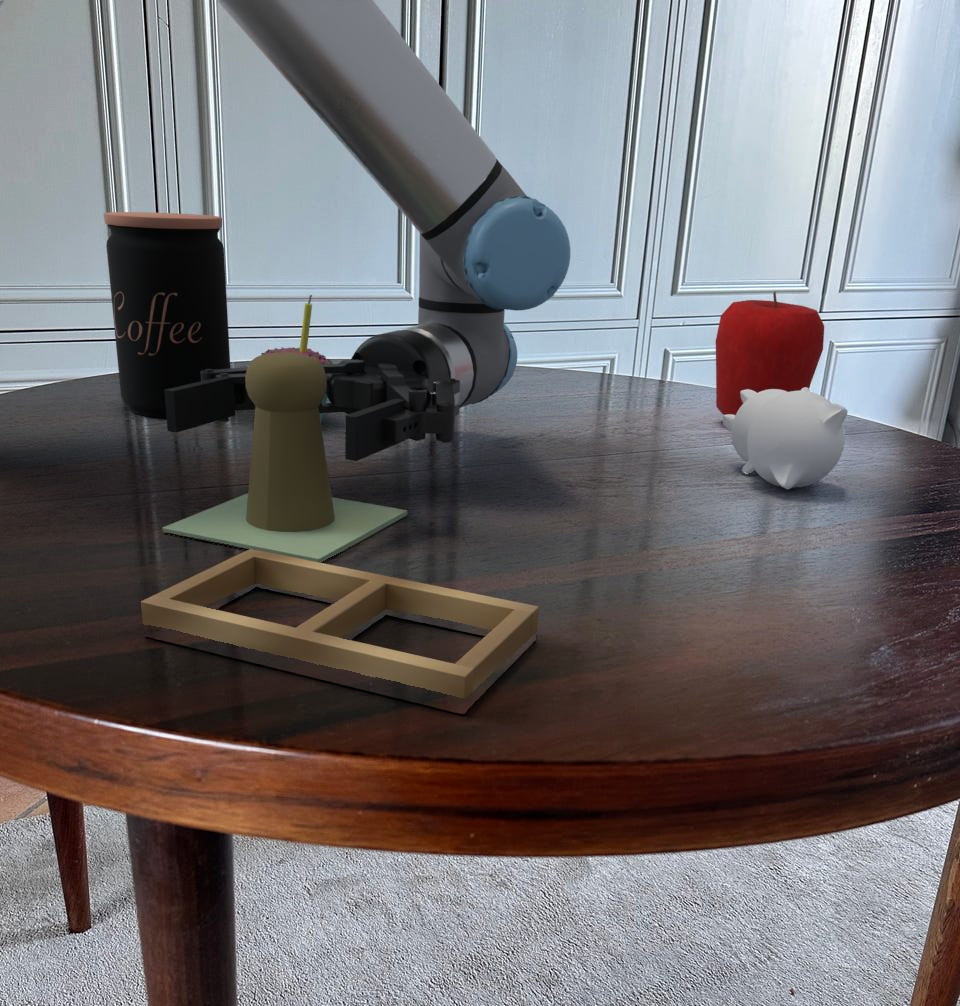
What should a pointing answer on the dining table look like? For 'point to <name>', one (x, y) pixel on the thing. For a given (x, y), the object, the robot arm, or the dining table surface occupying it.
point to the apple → (765, 349)
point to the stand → (345, 619)
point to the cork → (288, 445)
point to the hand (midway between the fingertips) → (256, 424)
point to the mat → (312, 545)
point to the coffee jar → (166, 303)
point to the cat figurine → (787, 435)
